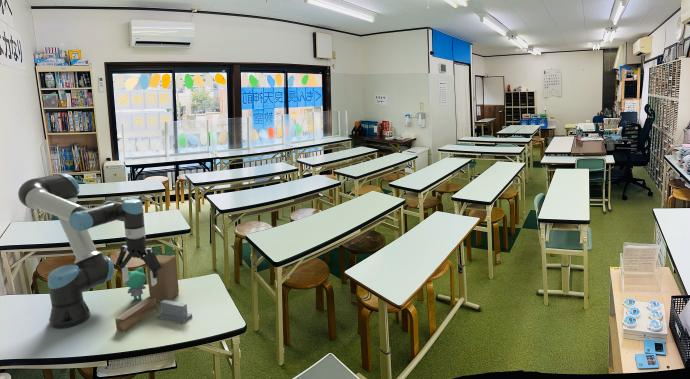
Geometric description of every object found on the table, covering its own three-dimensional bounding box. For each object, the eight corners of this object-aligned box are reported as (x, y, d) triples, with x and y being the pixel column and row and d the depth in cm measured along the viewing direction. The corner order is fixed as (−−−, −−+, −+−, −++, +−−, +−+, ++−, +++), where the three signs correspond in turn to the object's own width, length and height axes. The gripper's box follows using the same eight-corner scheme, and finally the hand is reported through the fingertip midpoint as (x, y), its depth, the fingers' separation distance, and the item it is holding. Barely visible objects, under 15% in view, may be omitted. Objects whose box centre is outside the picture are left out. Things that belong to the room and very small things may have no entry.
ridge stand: (157, 317, 191) (155, 303, 190) (166, 311, 197) (165, 297, 195) (183, 323, 187) (181, 308, 185) (192, 316, 192) (191, 302, 191)
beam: (116, 331, 181) (115, 318, 180) (149, 308, 200) (148, 296, 198) (124, 332, 180) (123, 319, 179) (157, 309, 199) (156, 297, 197)
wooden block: (168, 302, 205) (164, 263, 200) (149, 300, 207) (145, 261, 202) (179, 293, 214) (176, 255, 210) (161, 291, 216) (158, 253, 212)
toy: (144, 292, 214) (141, 264, 211) (150, 298, 209) (147, 269, 205) (124, 298, 208) (121, 269, 205) (130, 304, 203) (126, 275, 199)
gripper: (102, 236, 179) (108, 283, 184) (156, 242, 174) (160, 290, 179) (115, 230, 186) (120, 276, 191) (167, 236, 182) (171, 282, 187)
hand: (140, 282), depth 185 cm, fingers open, 13 cm apart
